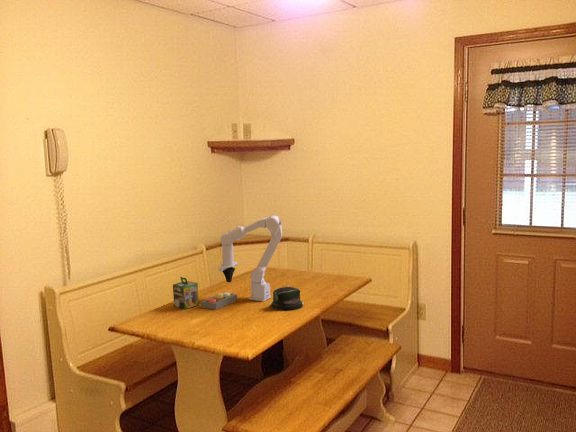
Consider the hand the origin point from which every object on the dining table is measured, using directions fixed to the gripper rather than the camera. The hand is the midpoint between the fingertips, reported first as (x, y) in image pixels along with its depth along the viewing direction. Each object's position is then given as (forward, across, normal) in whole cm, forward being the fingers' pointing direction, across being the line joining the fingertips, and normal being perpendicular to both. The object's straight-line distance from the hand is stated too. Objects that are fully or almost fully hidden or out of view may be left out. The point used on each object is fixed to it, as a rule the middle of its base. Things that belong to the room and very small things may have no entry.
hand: (228, 281), depth 280 cm
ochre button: (+7, +10, +1) cm, 12 cm away
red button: (+8, +16, +1) cm, 18 cm away
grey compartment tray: (+9, +10, +1) cm, 13 cm away
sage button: (+8, +4, +1) cm, 9 cm away
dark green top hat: (+9, 0, +33) cm, 35 cm away
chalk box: (+9, +20, -12) cm, 25 cm away
